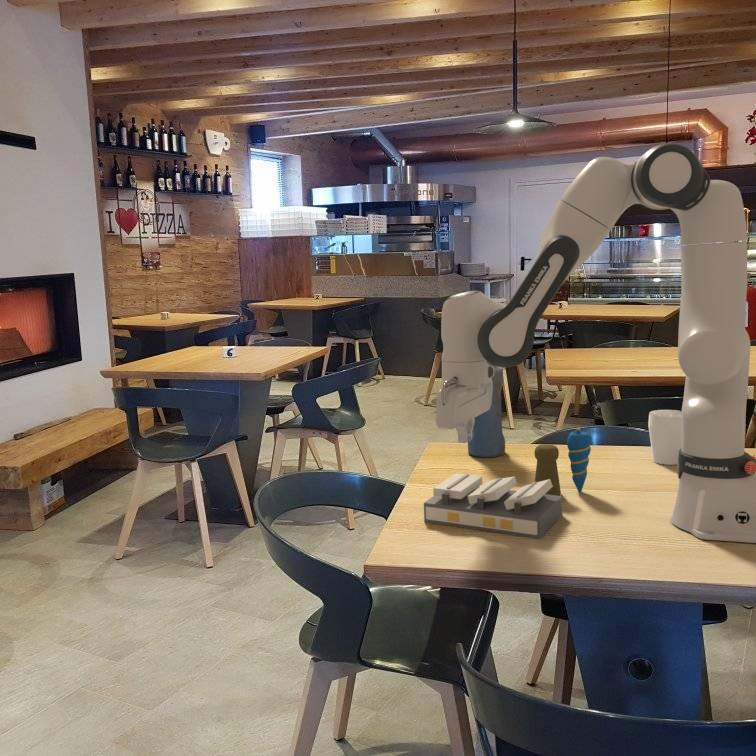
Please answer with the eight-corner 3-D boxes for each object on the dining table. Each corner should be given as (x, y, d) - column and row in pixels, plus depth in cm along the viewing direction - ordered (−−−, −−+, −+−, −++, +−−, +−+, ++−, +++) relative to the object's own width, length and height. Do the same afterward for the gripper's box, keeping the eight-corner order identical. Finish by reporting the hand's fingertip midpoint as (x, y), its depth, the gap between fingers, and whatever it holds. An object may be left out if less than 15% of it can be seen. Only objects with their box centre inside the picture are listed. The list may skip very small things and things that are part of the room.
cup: (690, 458, 196) (691, 411, 194) (682, 468, 189) (683, 418, 187) (653, 455, 201) (653, 408, 199) (643, 464, 194) (644, 415, 192)
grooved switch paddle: (482, 483, 167) (482, 474, 166) (460, 499, 157) (460, 490, 157) (456, 480, 170) (456, 471, 169) (433, 496, 160) (432, 486, 160)
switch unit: (562, 515, 161) (562, 485, 160) (539, 539, 148) (539, 507, 147) (453, 501, 172) (452, 473, 171) (423, 522, 160) (422, 492, 159)
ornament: (595, 491, 175) (595, 424, 172) (584, 497, 171) (584, 428, 169) (574, 486, 178) (574, 421, 176) (562, 492, 175) (562, 426, 172)
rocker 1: (517, 483, 163) (514, 474, 163) (496, 500, 153) (494, 490, 153) (490, 487, 166) (488, 479, 166) (469, 504, 156) (466, 494, 156)
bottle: (507, 457, 205) (505, 341, 200) (469, 459, 205) (466, 343, 200) (502, 448, 214) (500, 337, 209) (465, 449, 214) (462, 338, 210)
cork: (541, 488, 178) (540, 440, 177) (566, 492, 175) (565, 443, 173) (527, 495, 174) (527, 446, 172) (553, 500, 170) (552, 450, 168)
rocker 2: (553, 486, 159) (549, 477, 159) (534, 503, 149) (531, 493, 149) (526, 493, 162) (523, 484, 162) (506, 510, 153) (502, 500, 153)
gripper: (457, 383, 148) (458, 455, 150) (497, 366, 165) (498, 431, 168) (426, 381, 151) (428, 452, 153) (469, 365, 168) (470, 428, 171)
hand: (465, 441), depth 161 cm, fingers closed
